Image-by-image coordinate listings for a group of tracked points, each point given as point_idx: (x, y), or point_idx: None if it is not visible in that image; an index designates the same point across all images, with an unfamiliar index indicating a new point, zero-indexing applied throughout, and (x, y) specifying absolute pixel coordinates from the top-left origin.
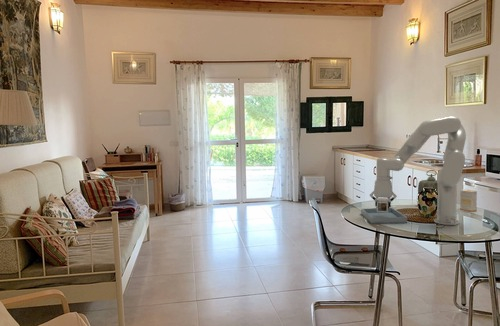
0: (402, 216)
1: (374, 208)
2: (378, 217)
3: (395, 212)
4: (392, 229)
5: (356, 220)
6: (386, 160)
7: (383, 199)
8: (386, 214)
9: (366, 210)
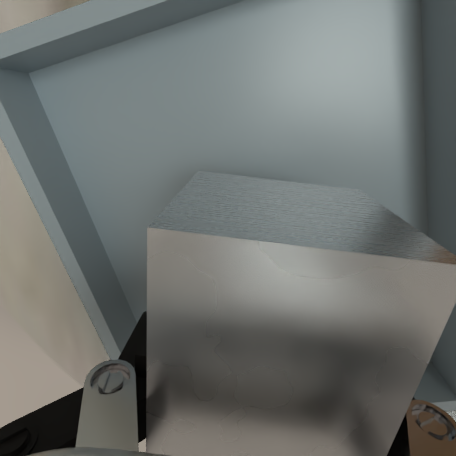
0: (450, 332)
1: None
2: None
3: (443, 108)
4: None
5: (43, 323)
6: None
7: (280, 407)
8: (313, 105)
9: (49, 53)
